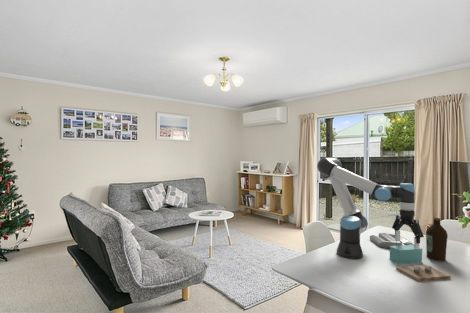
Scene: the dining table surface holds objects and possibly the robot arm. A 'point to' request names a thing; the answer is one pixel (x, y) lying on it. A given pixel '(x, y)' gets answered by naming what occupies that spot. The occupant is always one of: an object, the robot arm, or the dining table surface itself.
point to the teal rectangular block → (405, 254)
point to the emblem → (388, 240)
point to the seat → (423, 273)
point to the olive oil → (436, 241)
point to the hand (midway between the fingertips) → (406, 244)
